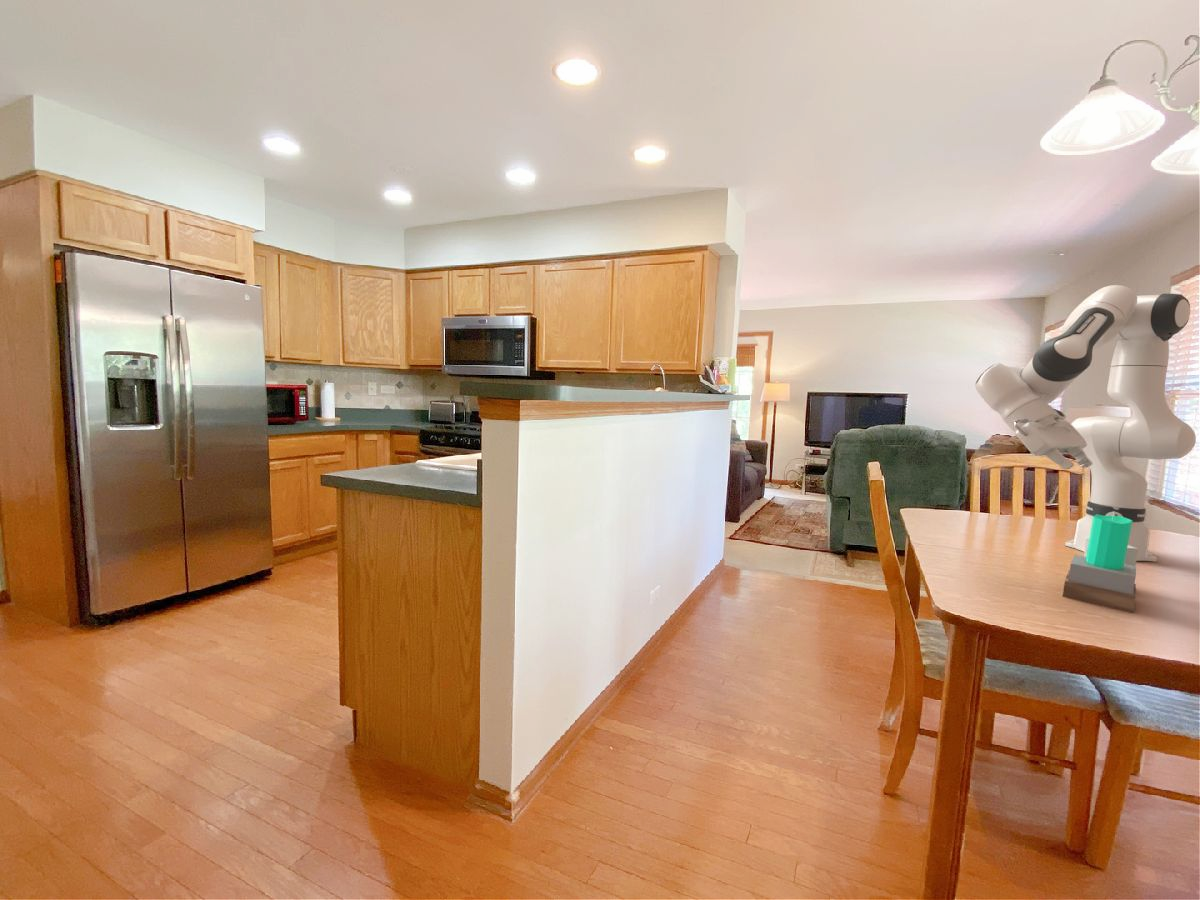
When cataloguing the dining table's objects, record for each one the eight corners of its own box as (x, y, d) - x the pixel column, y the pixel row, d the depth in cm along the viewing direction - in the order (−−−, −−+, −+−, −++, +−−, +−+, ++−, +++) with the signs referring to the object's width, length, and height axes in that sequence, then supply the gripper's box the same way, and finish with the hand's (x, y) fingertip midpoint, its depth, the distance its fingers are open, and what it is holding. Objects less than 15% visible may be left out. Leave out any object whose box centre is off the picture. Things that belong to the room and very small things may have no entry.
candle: (1123, 564, 115) (1133, 511, 112) (1123, 572, 110) (1133, 517, 108) (1086, 556, 119) (1095, 505, 117) (1084, 564, 115) (1093, 511, 112)
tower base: (1066, 586, 123) (1068, 570, 123) (1132, 601, 116) (1135, 583, 115) (1062, 598, 116) (1064, 581, 115) (1132, 615, 108) (1136, 596, 107)
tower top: (1072, 571, 122) (1075, 554, 122) (1133, 583, 115) (1136, 566, 115) (1068, 581, 115) (1070, 563, 115) (1132, 595, 108) (1135, 576, 108)
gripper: (1023, 411, 118) (1072, 460, 110) (1065, 411, 127) (1112, 457, 120) (998, 429, 122) (1043, 477, 115) (1040, 428, 132) (1084, 473, 125)
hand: (1079, 467), depth 118 cm, fingers open, 8 cm apart
